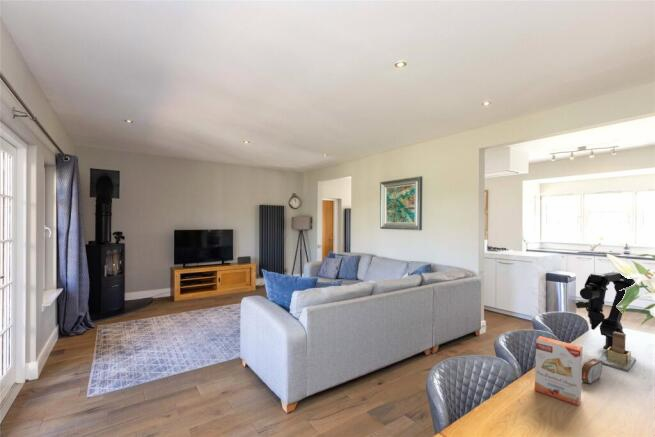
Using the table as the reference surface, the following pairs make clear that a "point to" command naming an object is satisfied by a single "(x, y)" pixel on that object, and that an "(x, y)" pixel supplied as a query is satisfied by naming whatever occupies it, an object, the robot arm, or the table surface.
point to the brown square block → (619, 342)
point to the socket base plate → (617, 359)
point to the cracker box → (558, 369)
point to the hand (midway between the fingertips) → (591, 326)
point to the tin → (591, 371)
